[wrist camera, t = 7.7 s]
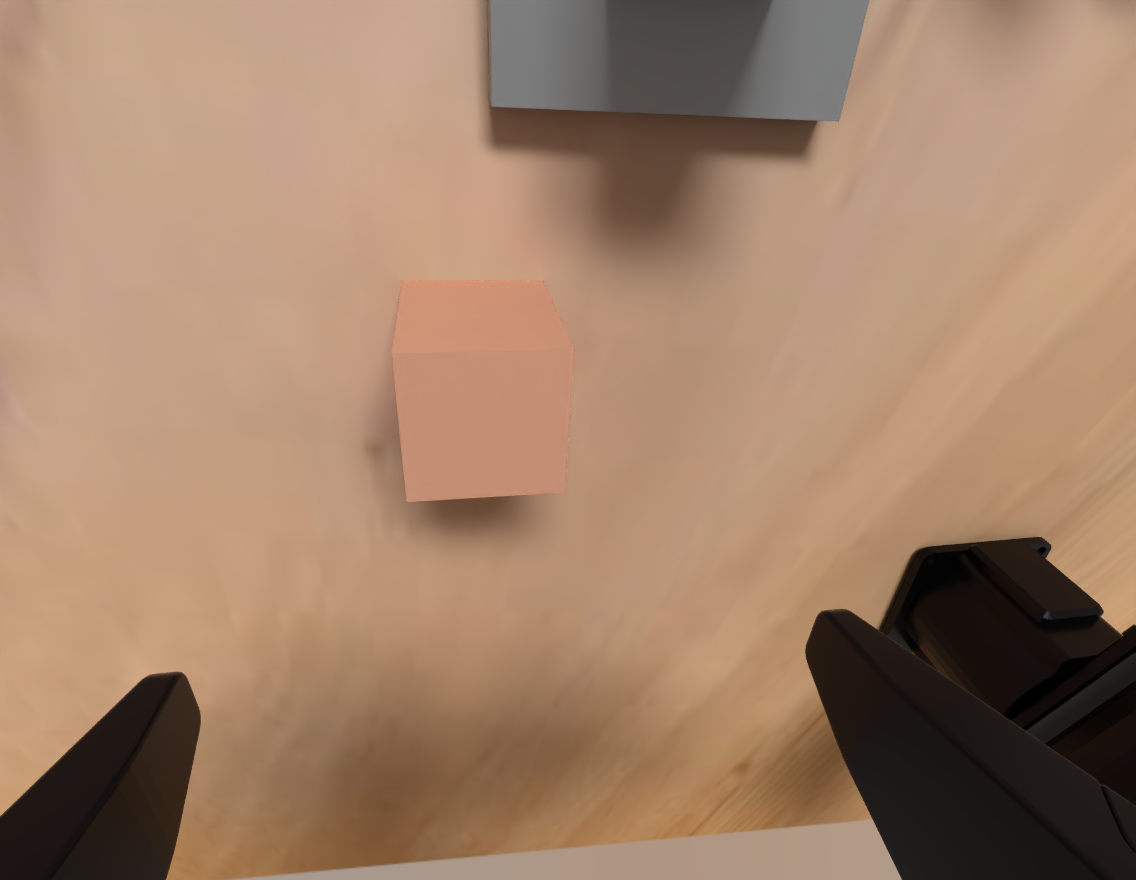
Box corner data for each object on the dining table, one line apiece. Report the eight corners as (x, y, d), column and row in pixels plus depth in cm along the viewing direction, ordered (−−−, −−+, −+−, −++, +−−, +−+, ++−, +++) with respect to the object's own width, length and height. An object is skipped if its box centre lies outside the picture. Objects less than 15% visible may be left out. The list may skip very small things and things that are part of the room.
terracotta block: (539, 400, 20) (565, 492, 16) (413, 405, 20) (406, 502, 16) (543, 280, 18) (574, 349, 14) (402, 280, 18) (391, 353, 13)
